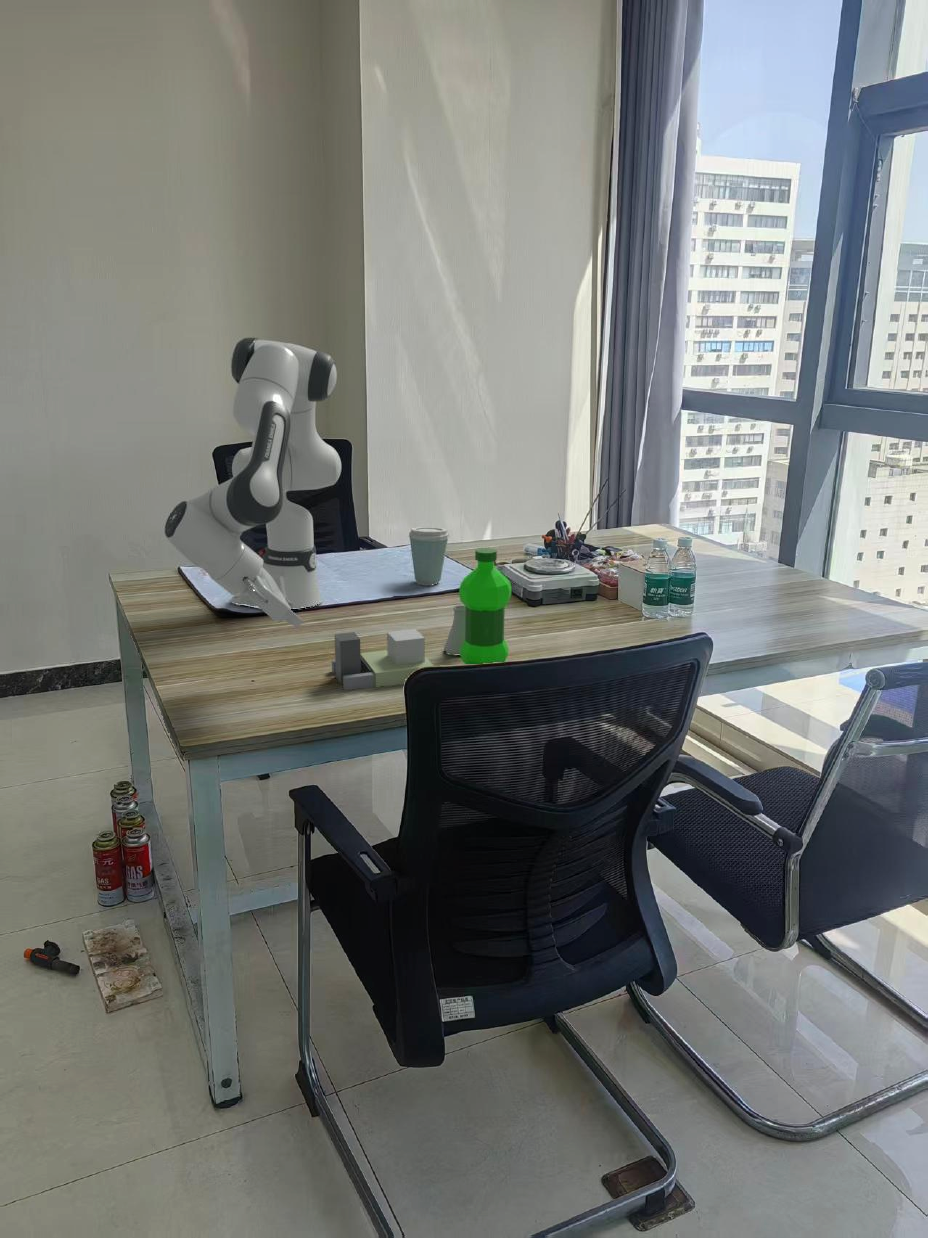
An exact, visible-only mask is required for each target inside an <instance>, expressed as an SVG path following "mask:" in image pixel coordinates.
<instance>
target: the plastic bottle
mask: <svg viewBox="0 0 928 1238" xmlns="http://www.w3.org/2000/svg"><path fill="white" fill-rule="evenodd" d="M474 553H475V554H474V558H475V561H477V567H475V568H474V569H473V570H472V571H470V572H469V573H468V574H467V575H466V576H465V577H464V578H463V580H462V581H461V583H460V585H459V589H458V594H459V595H458V596H459V601H460V603H462V605H465V606H466V618H465V641H464V643H463V645H462V648H461V650H460V656H459V657H460V658H461V660H462V662H463V663H464V664H465V665H466V664H483V663H493V662H505V663H506V661H507V657H508V655H509V647H508V643H507V641H506V640H505V613H506V612H505V608H506V607H507V605H508V604H509V602H510V599H511V596H512V584H511V581H510V580H509V579H508V578H507V577H506V576H505V575H504V574H503V573H502V572H500V571H499V570H498V569H497V568H496V567H495V562H496V561H497V560H498V557H497V556H498V555H497V554H498V550H497V549H495V548H490V547H480V548H477V549H476V550H475V551H474Z"/></svg>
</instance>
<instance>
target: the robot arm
mask: <svg viewBox="0 0 928 1238" xmlns="http://www.w3.org/2000/svg"><path fill="white" fill-rule="evenodd" d="M230 370H231V376H232V378H233V379H234V381H235V382H236V384H238V385H237V389H236V392H235V396H234V399H233V407H232V415H233V417H234V420H235V421H236V423H237V425H238V426H239V427H240V428H241V429H242V430H243V431H244V432H246V433H248V434H250V435H251V436H253V438H252V439H253V440H252V443H251V447H246V448H242V449H240V450H238V451H237V453H236V454H235V456H234V457H233V460H232V465H231V472H232V477H231V478H230V479H228V480H226V481H224V482H222V483H219V484H218V485H216V486H214V487H213V488H211V489H209V490H208V491H206V492H204V493H203V494H202V495H200V496H197V497H196V498H193V499H189V500H182V501H181V502H180V503H178V504H177V505H175V507H174V508H173V509H172V511H171V512H170V513H169V515H168V518H167V519H166V521H165V525H164V534H165V535H164V536H165V537H166V539H167V541H168V542H169V543H170V544H171V546H173V548H174V549H175V550H176V551H178V552H179V553H180V554H181V555H182V556H183V557H184V558H185V559H186V560H188V561H189V563H191V564H192V565H194V567H195V566H196V567H198V568H200V569H202V570H204V572H206V573H207V574H208V576H209V577H210V578H211V580H213V581H214V582H215V583H216V584H218V585H219V586H220V587H221V588H223V589H224V590H225V591H226V592H227V593H229V594H230V595H232V597H231V599H230V602H231V601H232V602H234V603H238V604H247V605H250V606H258V607H259V608H260V609H259V610H261V609H262V611H263V612H264V613H265V615H266V614H267V616H268V617H270V618H271V619H272V620H274V622H277V623H282V622H283V621H286V622H288V623H290V624H291V625H292V626H293V627H294V628H299V627H300V626H301V625H302V624H303V619H302V618H301V616H299V615H298V614H297V613H295V612H293V610H291V609H293V608H301V607H305V609H307V608H306V607H310V606H313V607H316V606H318V605H321V604H322V602H323V601H322V600H323V597H322V594H321V591H320V588H319V583H318V577H317V572H316V569H317V551H316V550H317V549H316V548H317V547H316V545H315V544H314V543H315V542H314V520H313V519H314V518H313V515H312V514H311V513H310V511H309V510H308V509H306V508H305V507H303V506H301V505H300V504H296V503H294V502H291V501H290V500H288V498H287V492H290V491H309V490H319V489H323V488H326V487H327V488H328V487H330V486H331V487H332V486H334V485H335V484H336V483H337V482H338V480H339V478H340V476H341V473H342V461H341V458H340V455H339V453H338V452H337V450H336V449H335V448H334V447H333V446H331V445H329V444H328V443H326V442H325V441H324V440H323V439H322V438H321V436H320V435H319V434H318V431H317V427H316V404H317V403H319V402H324V401H325V400H327V399H328V398H330V396H331V394H332V392H333V391H334V389H335V387H336V384H337V380H338V379H337V376H338V372H337V367H336V361H335V360H334V359H333V357H332V355H330V354H328V353H327V352H326V353H325V352H323V351H321V350H317V351H316V350H314V349H312V348H309V347H305V346H302V345H299V344H296V343H295V344H294V343H291V342H287V343H286V342H282V341H277V340H276V341H275V340H266V339H260V338H259V337H244V338H242V339H241V340H240V341H238V342H237V343H236V345H235V347H234V349H233V351H232V353H231V358H230ZM261 525H265V528H266V534H267V535H266V537H267V546H266V547H264V548H262V549H261V550H259V551H258V553H259V554H257V552H255V551H254V550H253V549H252V548H251V547H249V546H248V545H247V544H245V543H244V542H243V541H242V540H241V536H242V535H243V532H245V531H247V530H248V531H249V530H250V529H252V528H255V527H257V526H261ZM261 556H262V557H261ZM317 604H318V605H317ZM315 605H316V606H315ZM310 608H311V607H310Z"/></svg>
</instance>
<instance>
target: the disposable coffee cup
mask: <svg viewBox="0 0 928 1238" xmlns="http://www.w3.org/2000/svg"><path fill="white" fill-rule="evenodd" d="M408 537H409V542H410V549H411V550H410V551H411V560H412V566H413V574H414V580H415V582H417V583H416V584H417V585H420V584H421V586H427V585H430V586H433V585H432V584H436V583H438V582H439V581H440V582H441V580H442V579H441V578H442V574H443V568H444V562H445V557H446V556H445V555H446V552H447V545H448V542H449V541H448V539H449V538H450V533H449V532H448V530H447V529H446V528H445V527H444V528H443V527H437V526H436V527H435V526H419V527H413V528H412V529H411V530H410V532H409V533H408ZM440 582H439V583H440Z"/></svg>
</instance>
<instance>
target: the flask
mask: <svg viewBox="0 0 928 1238" xmlns="http://www.w3.org/2000/svg"><path fill="white" fill-rule="evenodd" d="M452 610H453V620H452V625H451V628H450V630H449V634H448V636H447V639H446V641H445V643H444V644H445V645H444V647H443V650H444V651H446V652H447V653H449V654H460V650H461V648H462V645H463V643H464V641H465V618H466V606H465V605H464V604H456V605H455V604H454V605H453V606H452ZM446 652H445V653H446ZM447 653H446V654H447Z"/></svg>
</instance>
